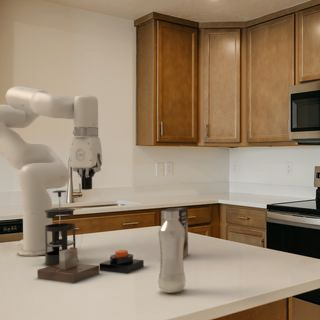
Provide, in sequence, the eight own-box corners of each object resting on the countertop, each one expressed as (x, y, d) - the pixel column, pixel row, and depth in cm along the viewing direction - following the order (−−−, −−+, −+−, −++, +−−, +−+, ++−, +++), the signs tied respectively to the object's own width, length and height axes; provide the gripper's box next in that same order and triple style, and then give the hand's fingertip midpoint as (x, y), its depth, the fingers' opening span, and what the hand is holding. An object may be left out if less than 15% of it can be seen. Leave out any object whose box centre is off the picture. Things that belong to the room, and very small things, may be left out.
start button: (112, 257, 134) (112, 252, 134) (120, 255, 137) (120, 249, 137) (122, 258, 133) (122, 252, 133) (130, 256, 136) (130, 250, 136)
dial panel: (37, 278, 125) (37, 269, 125) (64, 270, 135) (64, 261, 135) (73, 283, 120) (73, 273, 120) (99, 274, 130) (99, 264, 130)
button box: (99, 270, 133) (99, 257, 133) (116, 264, 141) (116, 251, 141) (127, 274, 129) (127, 260, 129) (143, 267, 137) (143, 254, 137)
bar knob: (64, 269, 125) (64, 250, 125) (59, 269, 126) (59, 250, 126) (77, 265, 129) (77, 247, 129) (72, 265, 130) (72, 247, 130)
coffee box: (180, 260, 145) (179, 210, 144) (161, 260, 146) (160, 210, 146) (189, 254, 154) (188, 207, 153) (171, 254, 155) (170, 206, 155)
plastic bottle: (159, 288, 115) (158, 209, 115) (186, 287, 115) (185, 209, 115) (157, 296, 108) (156, 213, 108) (185, 295, 109) (184, 212, 109)
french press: (81, 263, 143) (79, 190, 142) (49, 268, 137) (48, 192, 137) (69, 257, 152) (68, 188, 152) (40, 261, 146) (38, 190, 146)
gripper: (60, 133, 148) (60, 189, 148) (96, 132, 142) (97, 190, 142) (76, 134, 155) (77, 188, 155) (112, 133, 149) (112, 189, 149)
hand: (86, 189), depth 149 cm, fingers closed
